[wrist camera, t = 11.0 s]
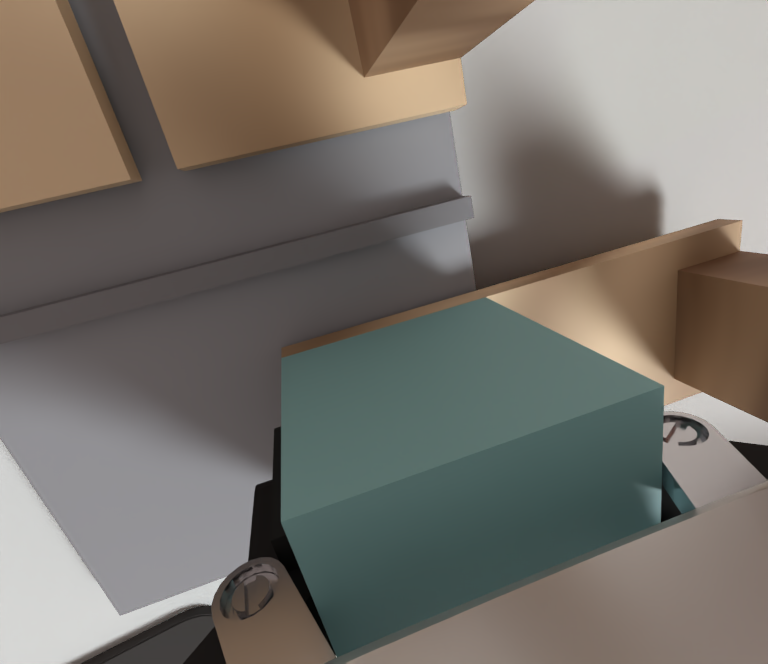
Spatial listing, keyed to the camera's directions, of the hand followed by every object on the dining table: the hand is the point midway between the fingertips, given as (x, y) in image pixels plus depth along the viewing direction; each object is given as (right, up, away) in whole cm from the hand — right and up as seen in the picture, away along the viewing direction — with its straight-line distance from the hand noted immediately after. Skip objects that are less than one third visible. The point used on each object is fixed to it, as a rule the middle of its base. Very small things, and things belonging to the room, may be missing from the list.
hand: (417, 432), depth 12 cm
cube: (0, 0, +1) cm, 1 cm away
